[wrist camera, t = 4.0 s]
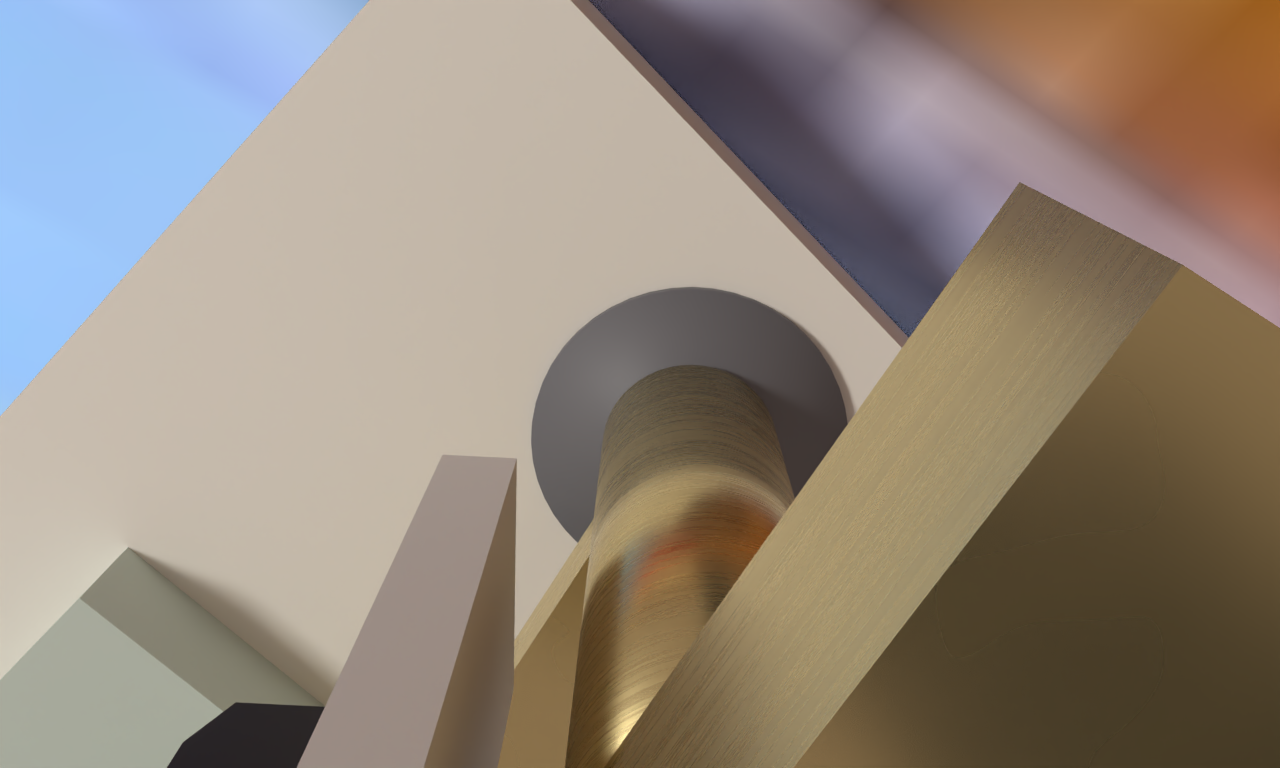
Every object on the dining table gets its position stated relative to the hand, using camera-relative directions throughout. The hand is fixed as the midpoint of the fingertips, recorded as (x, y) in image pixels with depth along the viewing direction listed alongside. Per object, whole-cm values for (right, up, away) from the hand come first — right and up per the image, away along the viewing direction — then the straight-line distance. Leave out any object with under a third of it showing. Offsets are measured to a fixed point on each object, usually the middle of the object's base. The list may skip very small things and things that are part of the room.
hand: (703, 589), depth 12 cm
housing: (-5, -2, +9) cm, 11 cm away
